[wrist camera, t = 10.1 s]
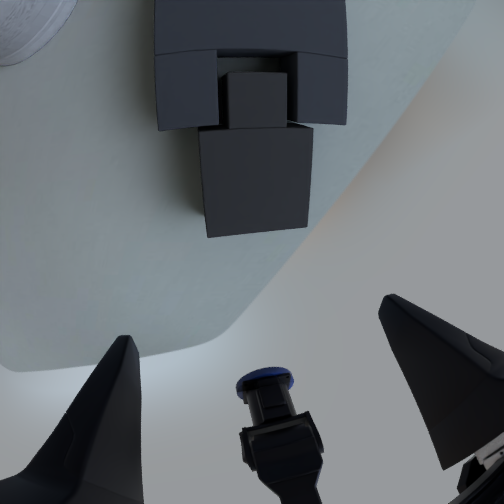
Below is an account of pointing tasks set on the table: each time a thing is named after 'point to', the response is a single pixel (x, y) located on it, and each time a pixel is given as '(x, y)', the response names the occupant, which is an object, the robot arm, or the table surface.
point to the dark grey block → (249, 55)
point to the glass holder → (29, 26)
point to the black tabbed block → (255, 159)
